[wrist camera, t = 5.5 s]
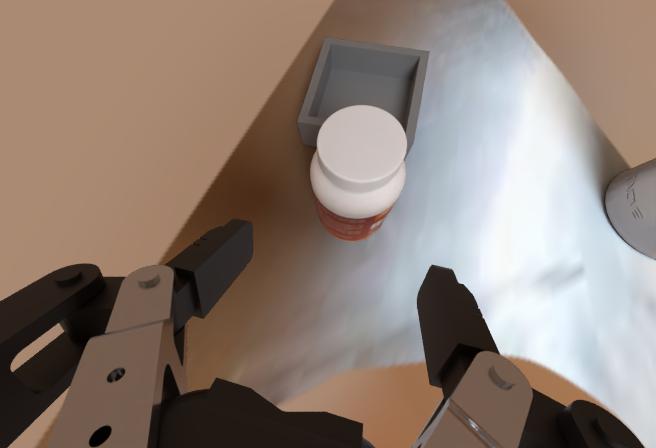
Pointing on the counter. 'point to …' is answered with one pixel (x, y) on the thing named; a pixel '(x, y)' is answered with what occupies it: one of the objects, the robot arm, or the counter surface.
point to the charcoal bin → (364, 84)
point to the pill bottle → (358, 170)
